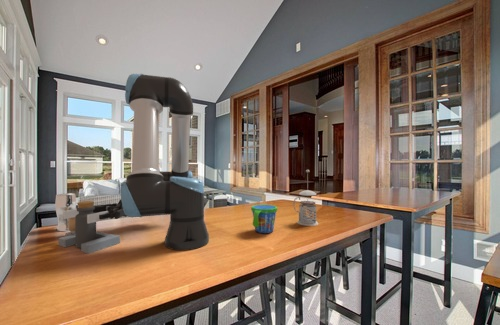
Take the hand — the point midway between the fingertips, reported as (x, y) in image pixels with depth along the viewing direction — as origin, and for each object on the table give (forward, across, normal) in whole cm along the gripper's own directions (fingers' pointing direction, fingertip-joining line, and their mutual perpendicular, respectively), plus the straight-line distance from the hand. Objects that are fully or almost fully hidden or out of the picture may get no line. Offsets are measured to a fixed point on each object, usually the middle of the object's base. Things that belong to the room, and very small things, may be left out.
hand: (75, 217), depth 77 cm
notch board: (-5, 0, -11) cm, 11 cm away
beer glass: (-11, +28, -11) cm, 32 cm away
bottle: (-3, 0, -11) cm, 11 cm away
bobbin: (-8, +15, -10) cm, 20 cm away
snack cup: (-44, -50, -11) cm, 68 cm away
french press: (-64, -63, -11) cm, 91 cm away
